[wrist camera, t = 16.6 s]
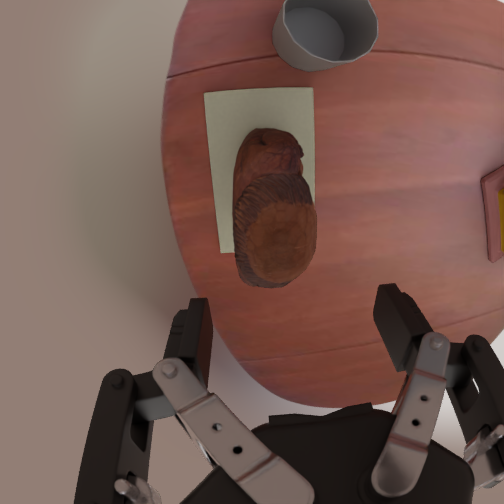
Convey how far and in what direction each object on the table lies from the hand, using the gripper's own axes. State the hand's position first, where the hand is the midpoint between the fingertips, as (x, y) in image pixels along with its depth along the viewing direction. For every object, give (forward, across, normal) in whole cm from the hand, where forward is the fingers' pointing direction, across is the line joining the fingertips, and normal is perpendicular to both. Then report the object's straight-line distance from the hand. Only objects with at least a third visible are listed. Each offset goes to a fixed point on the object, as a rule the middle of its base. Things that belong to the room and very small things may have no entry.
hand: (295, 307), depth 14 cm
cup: (+25, -6, -16) cm, 30 cm away
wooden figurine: (+24, 0, 0) cm, 24 cm away
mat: (+24, 0, 0) cm, 25 cm away
